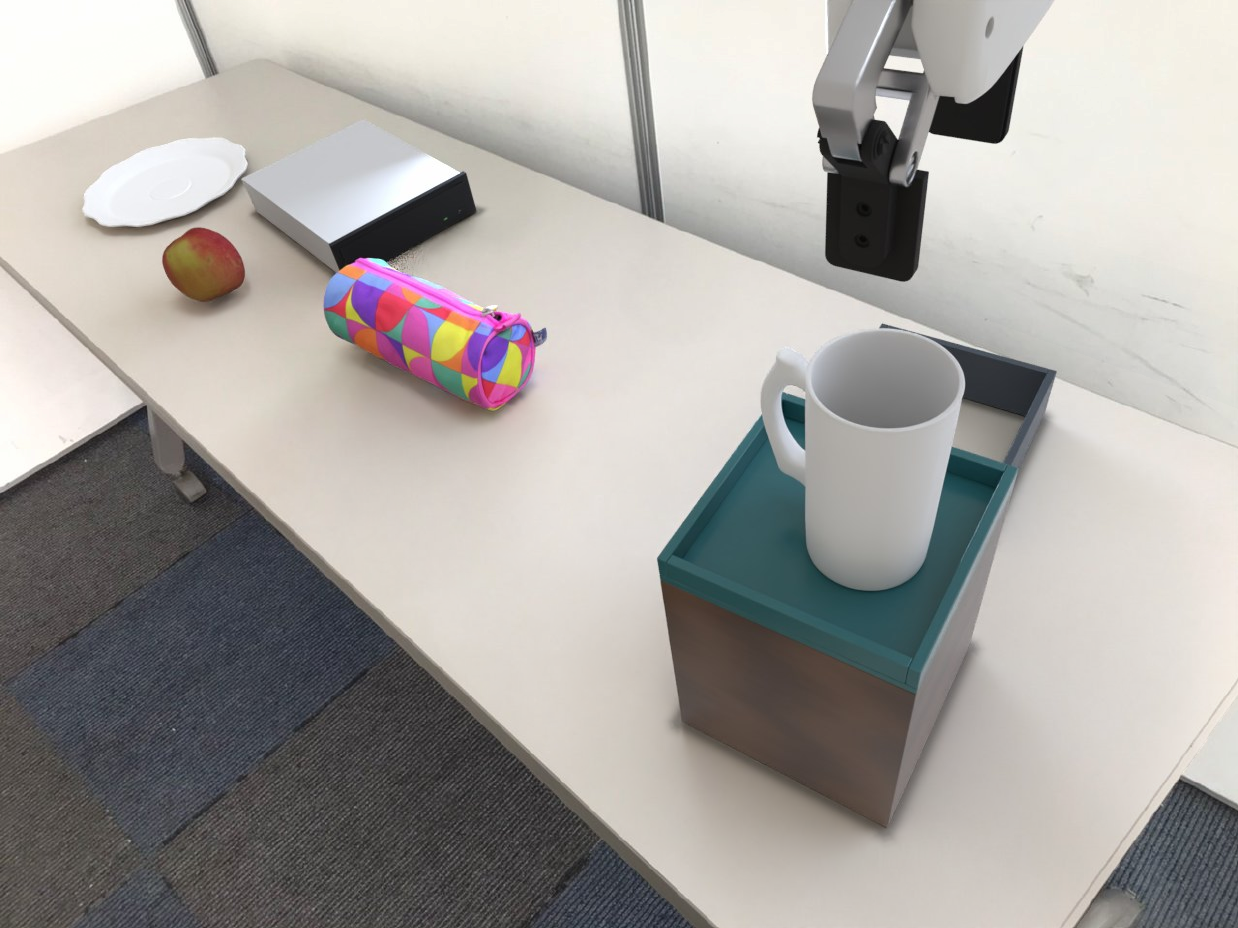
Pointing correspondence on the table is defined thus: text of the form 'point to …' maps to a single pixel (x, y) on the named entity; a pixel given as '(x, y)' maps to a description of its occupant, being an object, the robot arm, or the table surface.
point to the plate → (164, 182)
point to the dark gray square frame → (1004, 389)
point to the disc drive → (360, 195)
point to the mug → (868, 449)
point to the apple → (203, 264)
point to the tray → (801, 594)
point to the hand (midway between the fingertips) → (921, 197)
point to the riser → (813, 698)
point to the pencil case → (432, 332)
